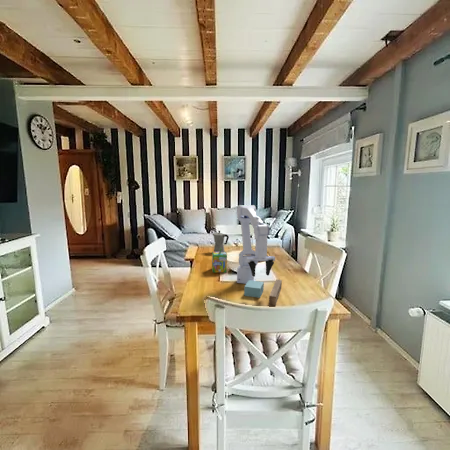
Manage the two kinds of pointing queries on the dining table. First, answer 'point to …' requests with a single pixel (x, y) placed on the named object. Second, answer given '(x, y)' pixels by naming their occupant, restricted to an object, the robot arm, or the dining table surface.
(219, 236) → the coffeepot
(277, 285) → the board
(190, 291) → the dining table surface
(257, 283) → the block
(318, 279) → the dining table surface
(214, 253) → the chalk box
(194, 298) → the dining table surface
